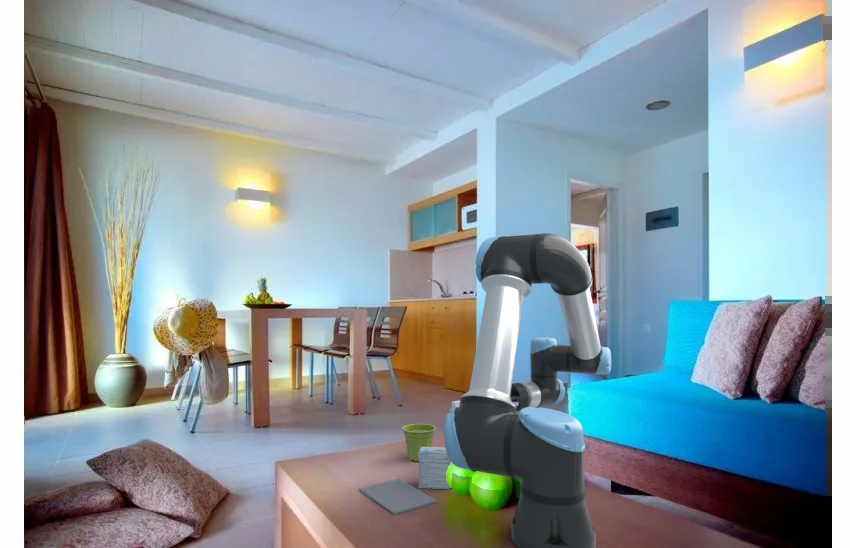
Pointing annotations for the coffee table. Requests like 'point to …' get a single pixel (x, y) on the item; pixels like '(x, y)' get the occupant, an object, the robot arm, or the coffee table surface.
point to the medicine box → (433, 467)
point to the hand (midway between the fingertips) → (453, 407)
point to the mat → (397, 496)
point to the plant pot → (417, 438)
